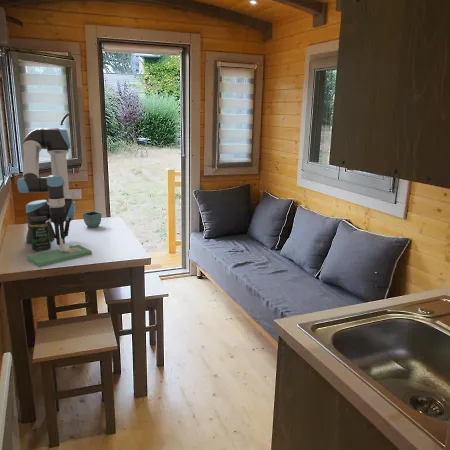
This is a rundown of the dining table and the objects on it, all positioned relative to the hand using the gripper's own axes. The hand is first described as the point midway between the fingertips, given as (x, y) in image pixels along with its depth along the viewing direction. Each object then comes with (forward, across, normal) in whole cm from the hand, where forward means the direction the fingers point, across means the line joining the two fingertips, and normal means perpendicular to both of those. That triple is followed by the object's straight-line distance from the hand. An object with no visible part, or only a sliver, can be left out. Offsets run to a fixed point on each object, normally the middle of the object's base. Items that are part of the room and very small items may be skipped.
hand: (61, 250), depth 222 cm
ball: (0, +2, 0) cm, 2 cm away
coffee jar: (+4, -3, +19) cm, 20 cm away
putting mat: (+4, -1, 0) cm, 4 cm away
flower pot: (+4, +40, +44) cm, 59 cm away
